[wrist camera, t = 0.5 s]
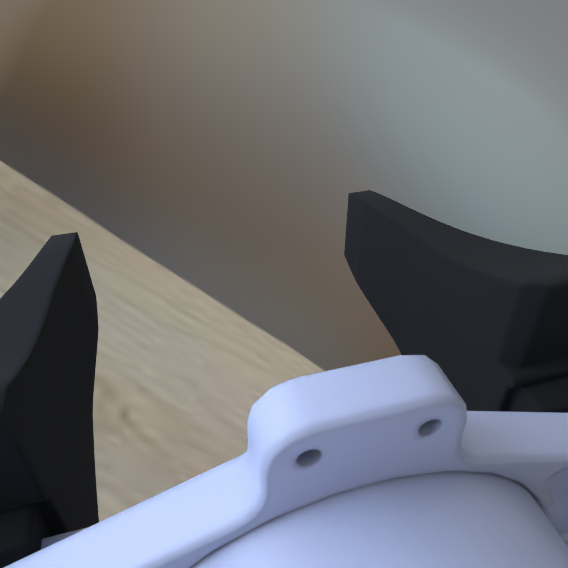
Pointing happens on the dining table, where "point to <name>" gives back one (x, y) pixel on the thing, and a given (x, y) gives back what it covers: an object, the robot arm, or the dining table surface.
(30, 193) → the dining table surface
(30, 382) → the robot arm
